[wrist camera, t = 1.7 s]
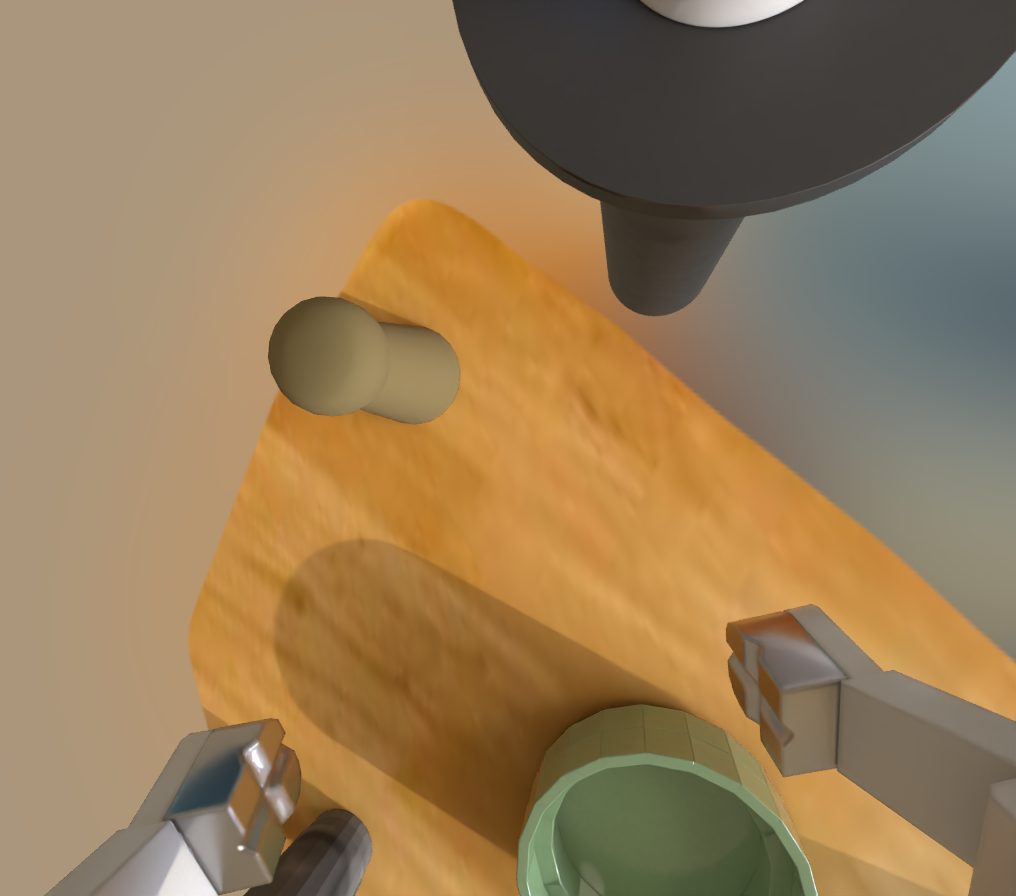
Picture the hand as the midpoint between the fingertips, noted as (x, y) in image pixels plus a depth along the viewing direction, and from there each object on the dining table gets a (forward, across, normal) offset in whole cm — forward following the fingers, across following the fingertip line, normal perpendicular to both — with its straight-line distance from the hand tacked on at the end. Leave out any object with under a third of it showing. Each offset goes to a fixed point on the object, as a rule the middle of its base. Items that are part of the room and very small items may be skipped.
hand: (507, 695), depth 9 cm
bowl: (+13, -5, +25) cm, 28 cm away
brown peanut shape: (+25, +4, -1) cm, 25 cm away
